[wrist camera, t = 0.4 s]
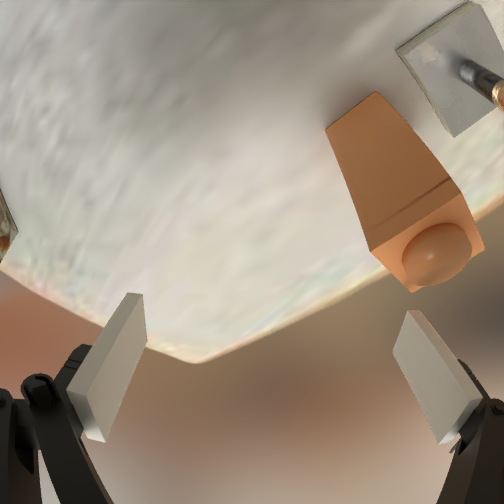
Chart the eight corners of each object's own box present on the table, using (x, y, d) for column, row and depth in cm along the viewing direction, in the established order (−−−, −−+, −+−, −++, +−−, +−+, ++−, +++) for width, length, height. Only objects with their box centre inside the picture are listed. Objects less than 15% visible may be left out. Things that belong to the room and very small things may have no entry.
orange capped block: (324, 130, 21) (374, 265, 13) (376, 90, 19) (469, 205, 10) (362, 170, 24) (415, 304, 15) (409, 136, 21) (491, 260, 13)
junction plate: (395, 51, 16) (446, 82, 12) (468, 1, 12) (533, 22, 7) (445, 128, 20) (490, 179, 16) (508, 83, 16) (562, 124, 11)
